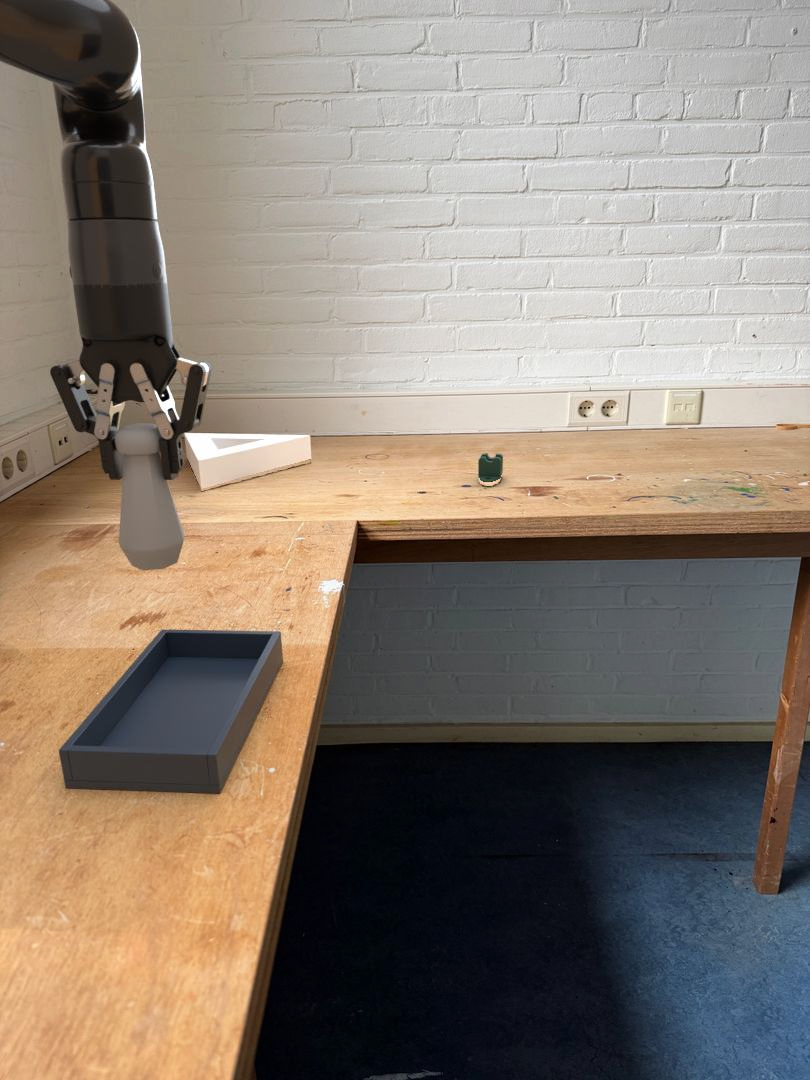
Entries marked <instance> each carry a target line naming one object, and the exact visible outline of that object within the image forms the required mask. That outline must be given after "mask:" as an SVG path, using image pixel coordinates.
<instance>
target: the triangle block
mask: <svg viewBox="0 0 810 1080" xmlns="http://www.w3.org/2000/svg"><path fill="white" fill-rule="evenodd" d="M183 435H184V444H185V445H184V447H185V455H186V459H187V458H188V460H189V462H190V465H191V467H192V469H193V471H194V474H195V476H196V478H197V481H198V483H199V485H200V487H201V489H203V488H207V487H210V486H214V485H217V484H221V483H224V482H228V481H231V480H234V479H237V478H241V477H245V476H248V475H252V474H256V473H260V472H264V471H267V470H271V469H274V468H278V467H282V466H286V465H290V464H294V463H298V462H301V461H305V460H308V459H312V446H311V445H312V444H311V434H266V433H265V434H263V433H261V434H260V433H259V434H258V433H257V434H256V433H211V432H209V433H207V432H206V433H205V432H185V433H183ZM190 465H189V466H190ZM191 467H190V468H191ZM194 474H193V475H194ZM195 476H194V477H195ZM196 478H195V479H196ZM197 481H196V482H197ZM198 483H197V484H198ZM199 485H198V486H199ZM200 487H199V488H200ZM201 489H200V490H201Z"/></svg>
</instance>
